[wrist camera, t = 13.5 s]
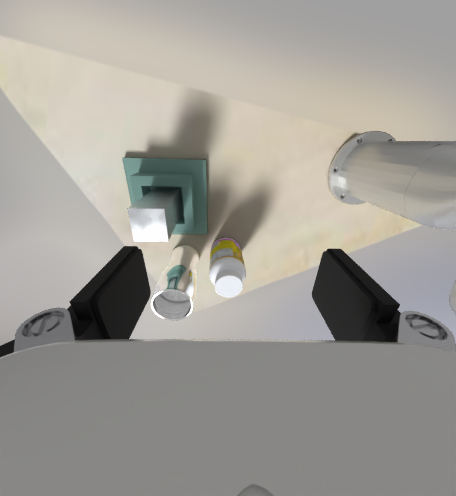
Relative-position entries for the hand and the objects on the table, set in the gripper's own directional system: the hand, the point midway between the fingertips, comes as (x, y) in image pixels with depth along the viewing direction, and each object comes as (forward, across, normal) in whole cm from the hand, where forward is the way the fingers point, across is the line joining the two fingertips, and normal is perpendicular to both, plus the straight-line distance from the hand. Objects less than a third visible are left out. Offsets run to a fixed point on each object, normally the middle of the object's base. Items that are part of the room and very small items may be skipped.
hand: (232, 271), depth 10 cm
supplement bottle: (+30, 0, +15) cm, 34 cm away
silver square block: (+28, +11, +4) cm, 31 cm away
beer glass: (+30, +9, +17) cm, 35 cm away
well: (+29, +11, +4) cm, 32 cm away
